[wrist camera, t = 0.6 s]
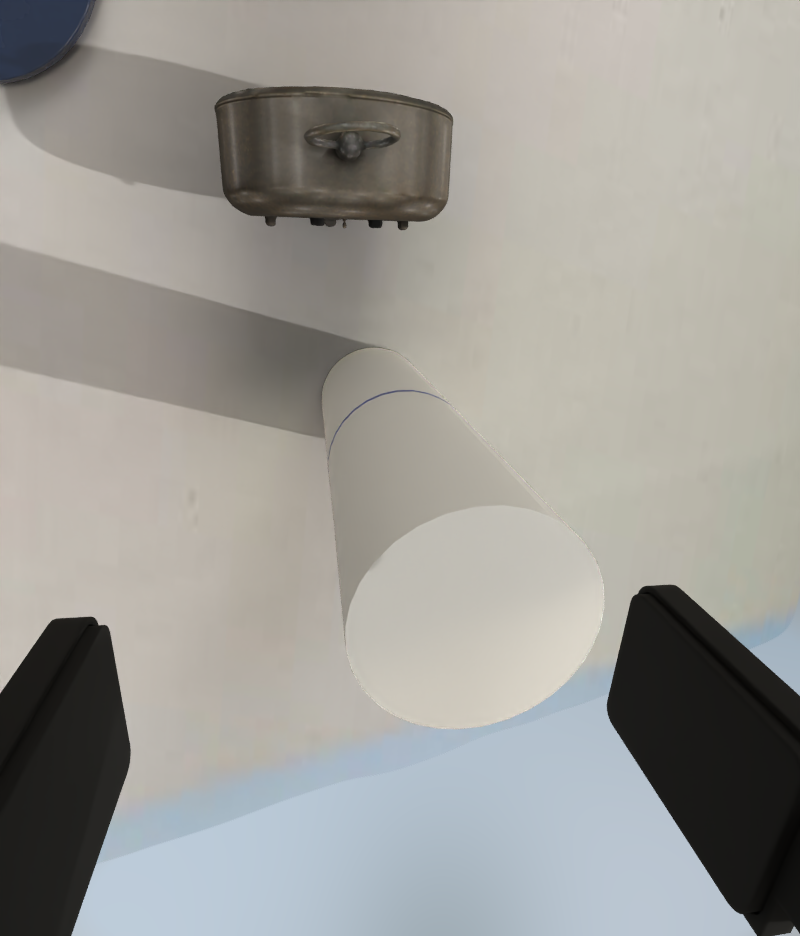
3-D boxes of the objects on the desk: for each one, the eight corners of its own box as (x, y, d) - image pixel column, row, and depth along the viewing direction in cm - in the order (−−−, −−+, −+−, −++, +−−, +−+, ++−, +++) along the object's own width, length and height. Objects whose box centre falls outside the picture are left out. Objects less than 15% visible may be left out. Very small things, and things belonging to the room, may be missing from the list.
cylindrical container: (350, 328, 36) (429, 460, 13) (442, 376, 38) (654, 564, 15) (304, 423, 37) (298, 689, 14) (394, 464, 40) (516, 753, 17)
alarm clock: (423, 139, 32) (523, 40, 17) (419, 238, 34) (507, 224, 19) (232, 127, 31) (163, 6, 16) (240, 232, 33) (185, 212, 18)
